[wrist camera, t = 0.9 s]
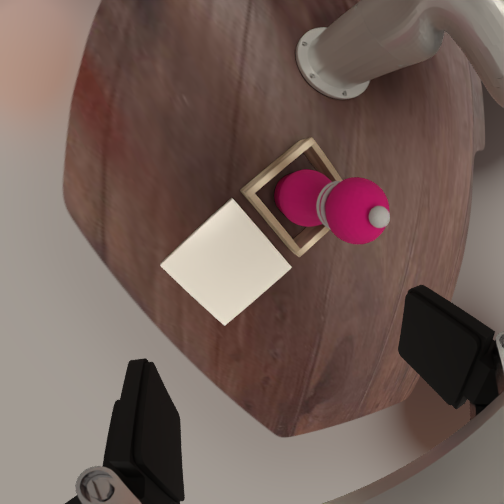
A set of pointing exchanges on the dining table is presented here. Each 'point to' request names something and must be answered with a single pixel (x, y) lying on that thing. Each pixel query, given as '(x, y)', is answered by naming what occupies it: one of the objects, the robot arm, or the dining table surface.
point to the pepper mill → (334, 204)
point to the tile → (226, 263)
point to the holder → (303, 146)
